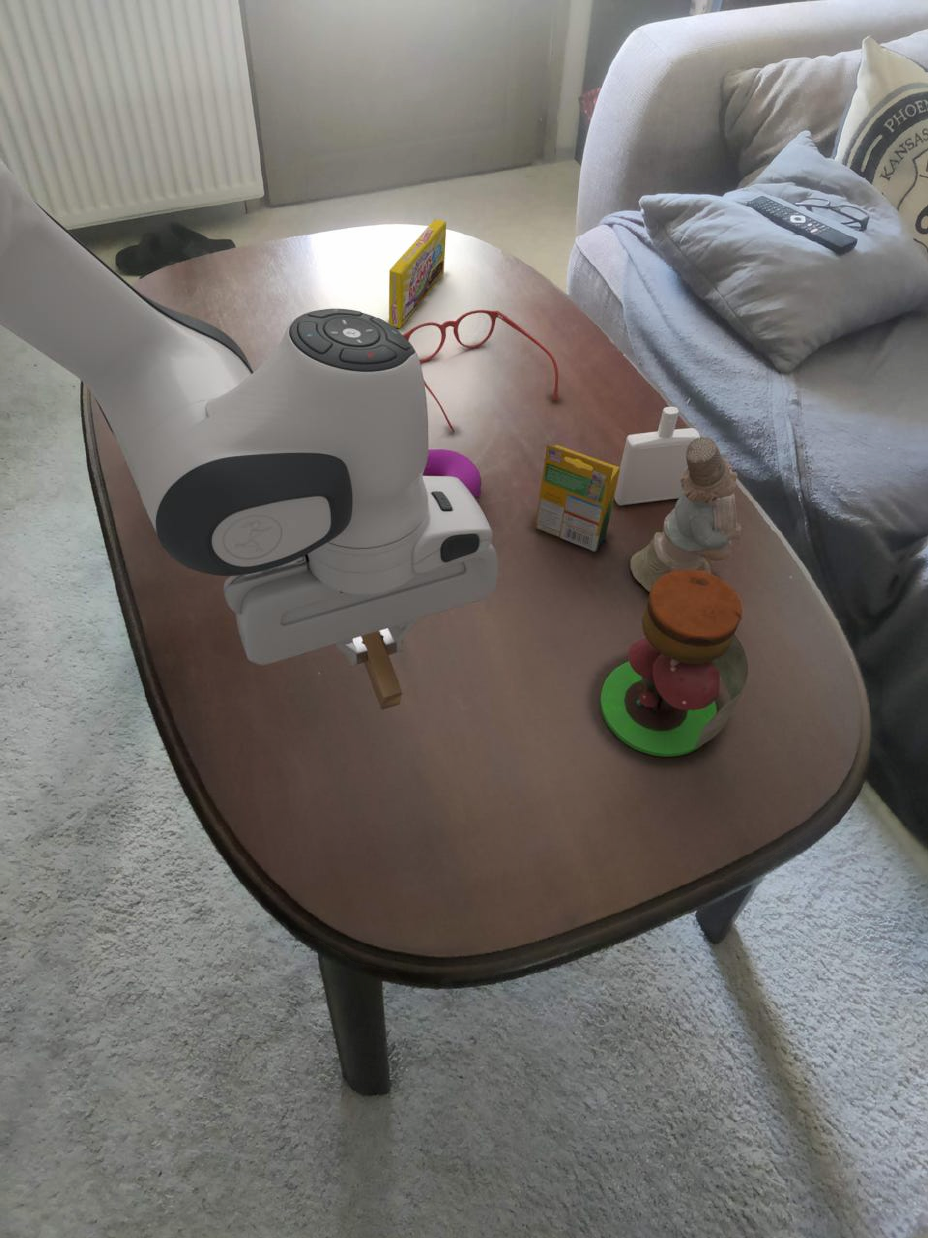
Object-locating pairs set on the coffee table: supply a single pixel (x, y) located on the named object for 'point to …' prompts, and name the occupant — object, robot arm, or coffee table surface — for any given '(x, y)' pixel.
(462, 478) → the donut
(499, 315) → the red eyeglasses
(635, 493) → the perfume bottle
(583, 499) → the crayon box
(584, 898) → the coffee table surface
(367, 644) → the fork
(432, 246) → the candy box
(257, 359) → the coffee table surface
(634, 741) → the toy burger
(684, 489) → the figurine
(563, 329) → the coffee table surface
